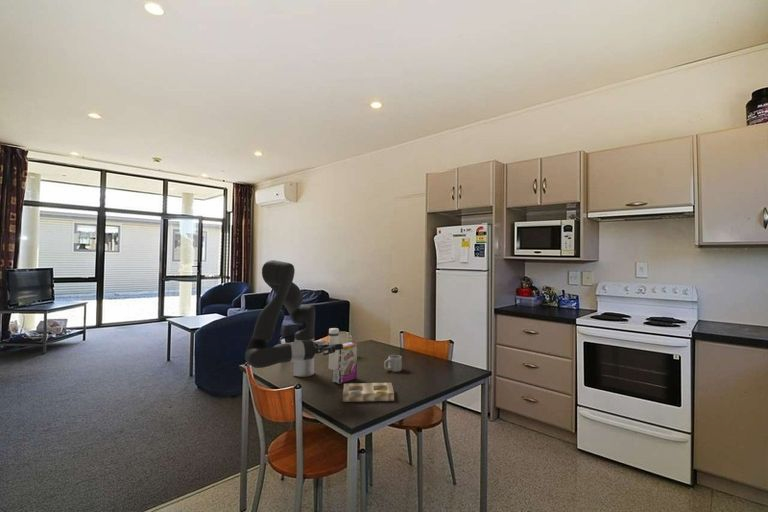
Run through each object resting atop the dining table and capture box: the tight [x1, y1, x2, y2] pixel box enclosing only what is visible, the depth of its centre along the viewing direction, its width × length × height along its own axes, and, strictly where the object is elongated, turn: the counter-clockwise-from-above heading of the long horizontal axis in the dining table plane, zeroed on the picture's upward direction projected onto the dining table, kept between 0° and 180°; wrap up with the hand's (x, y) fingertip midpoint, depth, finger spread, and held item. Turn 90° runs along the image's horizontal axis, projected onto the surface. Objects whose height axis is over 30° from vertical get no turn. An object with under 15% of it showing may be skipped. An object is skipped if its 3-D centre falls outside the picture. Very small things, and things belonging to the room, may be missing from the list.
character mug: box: [339, 331, 353, 344], centre depth 209 cm, size 11×7×13 cm, turn 110°
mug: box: [383, 354, 403, 373], centre depth 182 cm, size 10×7×7 cm
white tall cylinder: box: [328, 327, 340, 371], centre depth 149 cm, size 4×4×16 cm
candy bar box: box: [332, 341, 358, 385], centre depth 167 cm, size 11×5×16 cm, turn 141°
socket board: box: [342, 382, 395, 403], centre depth 148 cm, size 20×12×3 cm, turn 94°
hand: (339, 345), depth 151 cm, fingers closed on white tall cylinder, 4 cm apart
